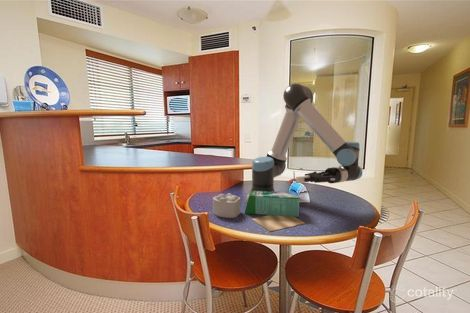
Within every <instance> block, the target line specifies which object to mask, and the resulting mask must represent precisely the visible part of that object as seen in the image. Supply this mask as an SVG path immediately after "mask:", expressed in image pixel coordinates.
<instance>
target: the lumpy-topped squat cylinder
mask: <svg viewBox="0 0 470 313" xmlns="http://www.w3.org/2000/svg"><path fill="white" fill-rule="evenodd" d="M241 203H242V201H241V197H240V196H237V195H235V194H232V193H230V192H229V193H226V194H224V193H220V194H218V195H214V196H213V198H212V213H213V215H215V216H217V217H220V218H228V219H231V218H233V219H235V218H237V217H238V215H240V214H241V212H242V211H241V210H242V209H241V206H242V205H241Z"/></svg>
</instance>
